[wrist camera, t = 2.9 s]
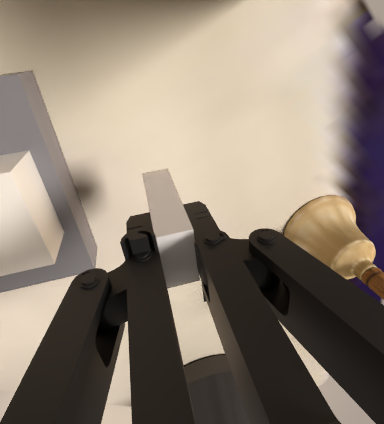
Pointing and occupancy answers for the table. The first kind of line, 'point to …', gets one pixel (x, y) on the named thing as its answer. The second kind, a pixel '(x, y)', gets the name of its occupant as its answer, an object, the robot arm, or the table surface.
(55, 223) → the white rectangular block
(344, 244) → the hand bell
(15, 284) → the plate
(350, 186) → the table surface
